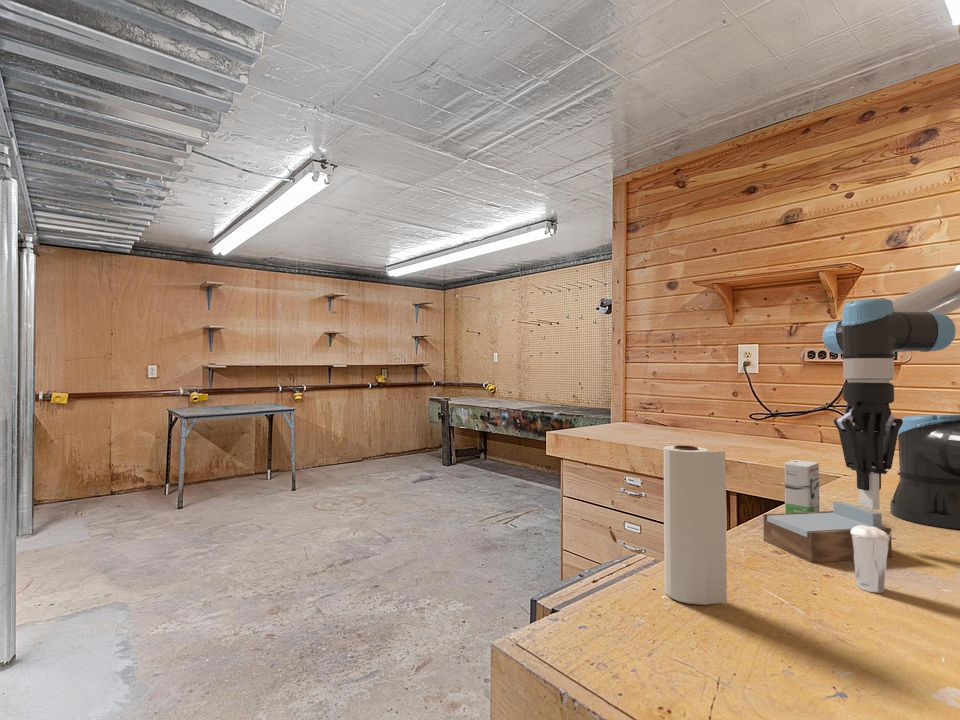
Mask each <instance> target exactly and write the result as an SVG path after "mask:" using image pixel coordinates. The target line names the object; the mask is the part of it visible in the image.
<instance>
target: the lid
mask: <svg viewBox="0 0 960 720" xmlns="http://www.w3.org/2000/svg"><path fill="white" fill-rule="evenodd" d="M832 504H833V505H832V508H833V510H832V511H833V512H832V513H812V514H792V515H771V516H767V521H768V522H771V523H773V524H776V525H778V526H781V527H783V528H785V529H788V530H790V531H793V532H795V533H798V534H800V535H803V536H805V537H809V532H819V531H837V530H851V529H852V528H853V527H855V526H858V525H865V526H869V527H876V528H887V527H886V526H885V525H883V524H882V523H883V521H882V517H883V516H882V515H883V514H882V513H880V512H878V511H875V510H872V509H869V508H866V507H862V506H859V505H858V506H857V505H855V504H851V503H848V502H843V501H833V502H832Z"/></svg>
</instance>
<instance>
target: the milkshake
mask: <svg viewBox="0 0 960 720" xmlns="http://www.w3.org/2000/svg"><path fill="white" fill-rule="evenodd" d="M894 529H895V526H892V528H891V532H890V534H889V536H888V534H887V533H886V532H884V531H882V530H880V529H878V528H876V527H869V526H865V525H858V526H855V527H853V528H852V529H851V531H850V533H851V540H852V547H853V555H854V560H853V563H854V573H855V582H856V587H858V588H859V589H860V590H863V591H866V592H868V593H874V594H882V593H885V588H886V573H887V560H888V558H887V554H888V546H889V537H890V535H891V536H892V533H893V531H894Z"/></svg>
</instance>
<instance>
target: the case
mask: <svg viewBox="0 0 960 720" xmlns="http://www.w3.org/2000/svg"><path fill="white" fill-rule="evenodd" d="M832 512H833V510H828V511H819V512H802V513H785V512H784V513H783V512H782V513H765V514H763V515H762V516H763V517H762V519H763V541H764V542H765V543H768V544H770V545H772V546H775V547H778V548H779V549H781V550H783V551H784V552H785V551H786V552H788V553H789V554H792V555H794V556H796V557H798V558H800V559H802V560H805V561H807V562H809V563H812V564H814V563H826V562H827V563H829V562H841V561H843V562H845V561H854V555H853V547H852V540H851V533H850V531H851V530H837V531H819V532H809V537H805V536H803V535H800V534H798V533H795V532H793V531H790V530H788V529H785V528H783V527H781V526H778V525H776V524H773V523H771V522H768V521H767V516H771V515H792V514H812V513H832ZM878 529H880V530H882V531H884V532H886V533H887V534H888V536H889V534H890V532H891V530H892V528H890V527H886V528H878ZM892 548H893V547H892V534H891V535H890V537H889V546H888V554H887V559H888V558H892V557H893V555H892V552H893V550H892Z"/></svg>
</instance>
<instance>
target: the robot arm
mask: <svg viewBox="0 0 960 720" xmlns="http://www.w3.org/2000/svg"><path fill="white" fill-rule="evenodd" d="M958 309H960V264H959V265H957V266H954V267H953V268H952V269H950V270H949V272H948V273H947V275H946V276H945V275H944V277H941V278H939V279H936V280H935V281H932V282H930V283H927V284H926V285H923V286H921V287H919V288H917V289H914V290H912V291H910V292H908V293H905V294H904V295H902V296H899V297H897V298H895V299H893V300H890V299H887V298H882V297H881V298H880V297H879V298H864V299H863V298H862V299H856V300H855V299H854V300H851V301H848V302H846V303H845V304H844V305H843V309H842V318H841V319H840V320H838V321H833V322H831V323H829V324H827V325H826V326H825V328H824V329H823V332H822V335H821V336H822V338H821V339H822V342H823V344H824V345H823V346H824V348H825V349H826V350H828V351H829V352H830V353H832V354H835V355H836V354H837V355H842V365H843V366H842V368H843V369H842V377H843V378H842V379H844V380H847V382H844V383H843V384H842V400H843V401H845V402H846V404H847V405H846V408H845V410H844V415H842V416H841V417H835V418H834V419H833V424H834V425H835V427H836V429H837V430H838V434H839V439H840V443H841V448H842V453H843V457H844V462H845V466H846V468H848V469H850V470H851V471H855V472H856V488H857V489H858V507H861V508H865V509H868V510H871V511H875V510H880V509H881V508H880V490H881V489H882V475H883V474H884V475H886V474H887V473H888V470H891V469H892V466H893V461H894V457H895V452H896V447H897V446H896V445H897V444H898V462H899V463H898V464H899V482H898V483H897V486H896V489H895V491H894V493H893V496H892V499H891V500H890V502H889V503H890V506H889V507H890V508H889V509H890V513H891V514H892V515H893V516H895V517H897V518H899V519H903V520H904V521H905V520H906V521H909V522H914V523H918V524H922V525H926V526H927V525H928V526H933V527H940V528H946V529H955V530H960V414H924V415H921V414H920V415H908V416H904V417H902V418H896V417H895V416H893V415H892V409H891V408H890V404H892V403H894V402H895V385H894V384H893V383H891V381H893V380H894V379H895V359H894V358H895V357H894V356H895V355H894V353H901V352H921V353H929V352H938V351H942V350H945V349H946V348H947V347H949V346H950V345H951V344H952V343H953V341H954V340H955V337H956V332H957V331H956V325H955V322H954V321H953V320H952V319H951V318H950V317H949V316H948V315H947V314H950V313H952V312H955V311H957V310H958ZM897 440H898V443H897Z"/></svg>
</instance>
